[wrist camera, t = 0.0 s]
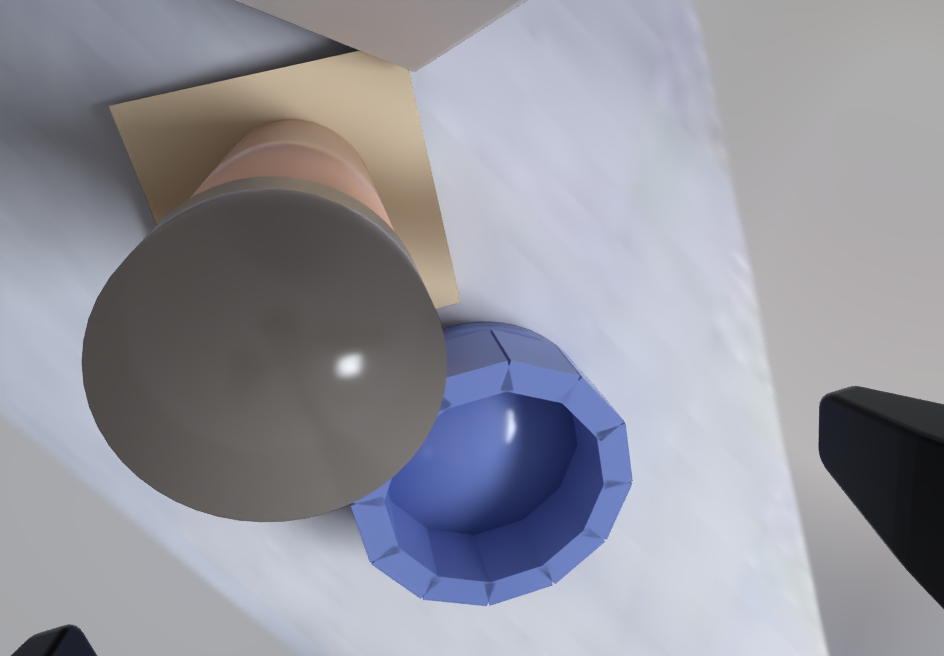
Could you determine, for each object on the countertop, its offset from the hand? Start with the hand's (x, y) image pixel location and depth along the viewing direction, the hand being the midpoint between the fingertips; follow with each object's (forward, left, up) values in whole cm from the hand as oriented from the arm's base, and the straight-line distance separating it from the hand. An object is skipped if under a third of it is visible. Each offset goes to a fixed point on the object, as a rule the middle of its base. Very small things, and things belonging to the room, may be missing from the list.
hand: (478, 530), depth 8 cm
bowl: (-8, -1, -15) cm, 17 cm away
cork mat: (+1, +2, -15) cm, 15 cm away
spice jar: (+2, +2, -14) cm, 14 cm away
